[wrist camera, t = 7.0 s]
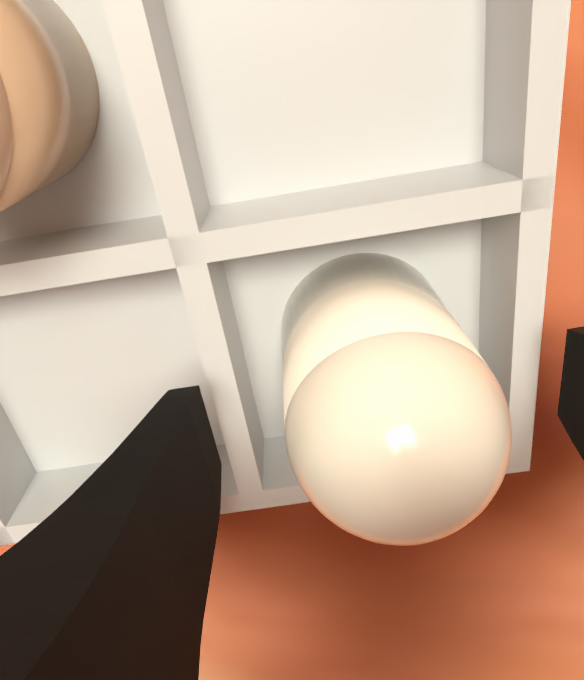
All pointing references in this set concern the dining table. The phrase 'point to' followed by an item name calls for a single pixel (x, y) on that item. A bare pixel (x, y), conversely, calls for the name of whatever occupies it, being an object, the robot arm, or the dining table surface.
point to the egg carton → (270, 217)
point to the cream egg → (388, 404)
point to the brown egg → (42, 97)
